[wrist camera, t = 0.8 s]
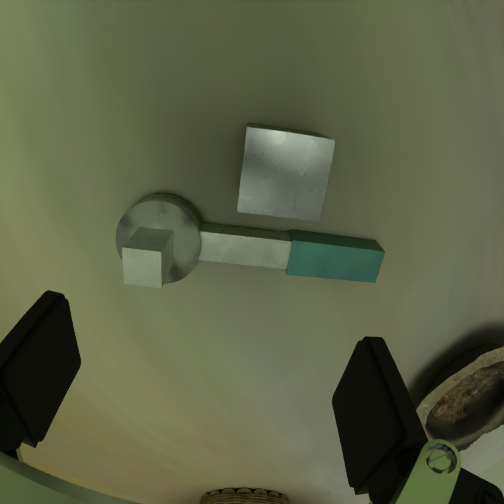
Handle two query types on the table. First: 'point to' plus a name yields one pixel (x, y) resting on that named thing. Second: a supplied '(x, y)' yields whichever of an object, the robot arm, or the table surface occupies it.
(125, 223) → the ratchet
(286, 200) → the brushed grey cube
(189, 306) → the table surface
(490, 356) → the stone bowl
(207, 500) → the wicker basket
